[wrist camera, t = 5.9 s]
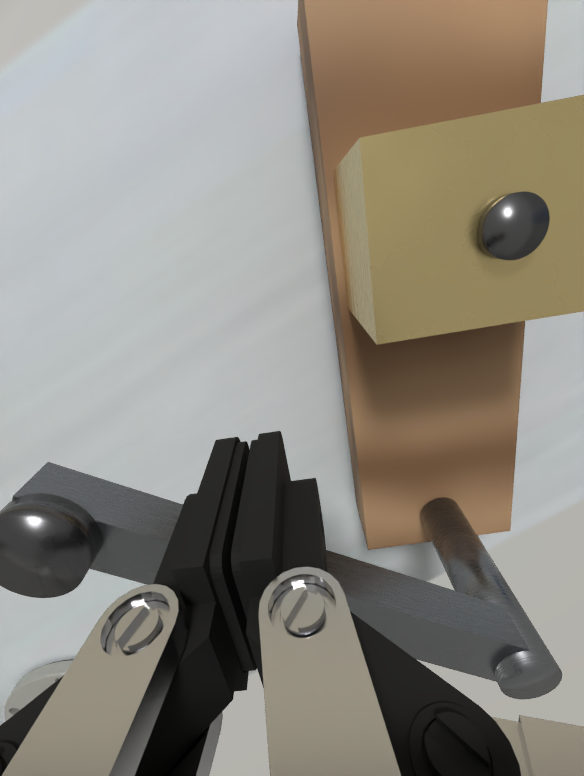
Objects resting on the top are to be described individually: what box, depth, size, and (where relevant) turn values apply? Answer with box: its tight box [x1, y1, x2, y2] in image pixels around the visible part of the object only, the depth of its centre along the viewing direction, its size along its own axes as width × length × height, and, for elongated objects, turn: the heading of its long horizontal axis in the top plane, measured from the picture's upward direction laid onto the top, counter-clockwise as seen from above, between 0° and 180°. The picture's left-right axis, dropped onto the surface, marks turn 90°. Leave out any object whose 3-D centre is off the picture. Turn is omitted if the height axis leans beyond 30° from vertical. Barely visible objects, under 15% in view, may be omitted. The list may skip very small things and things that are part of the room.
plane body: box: [297, 0, 548, 550], centre depth 17 cm, size 23×7×4 cm, turn 9°
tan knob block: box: [333, 95, 584, 345], centre depth 11 cm, size 5×6×5 cm
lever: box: [0, 462, 562, 699], centre depth 13 cm, size 16×2×8 cm, turn 67°
